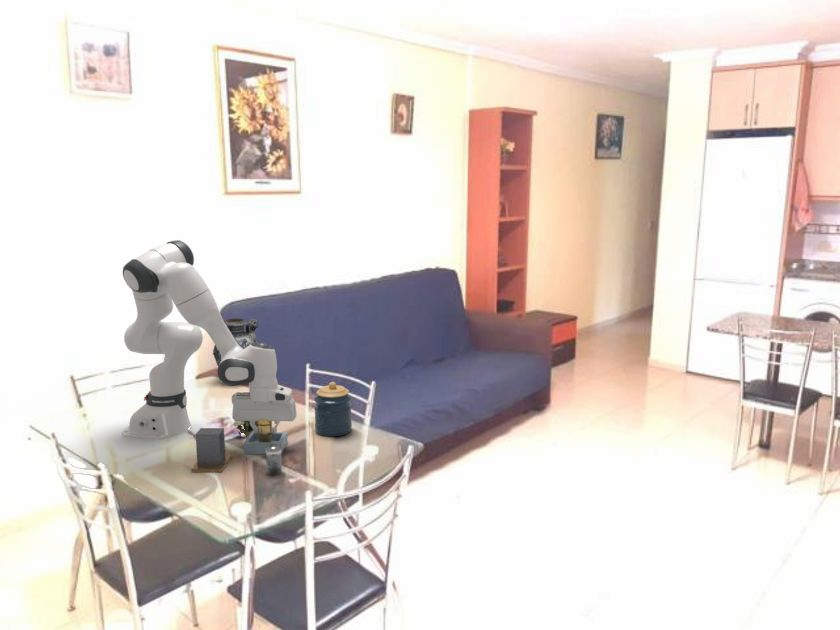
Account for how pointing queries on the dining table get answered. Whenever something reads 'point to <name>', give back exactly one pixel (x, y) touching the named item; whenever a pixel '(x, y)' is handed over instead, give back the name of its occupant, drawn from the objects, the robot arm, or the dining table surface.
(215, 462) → the block
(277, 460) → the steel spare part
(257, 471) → the dining table surface
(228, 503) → the dining table surface
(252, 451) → the tray
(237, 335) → the decorative vase
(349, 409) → the canister
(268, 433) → the gold lidded glass jar
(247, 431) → the frog figurine
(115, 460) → the dining table surface
